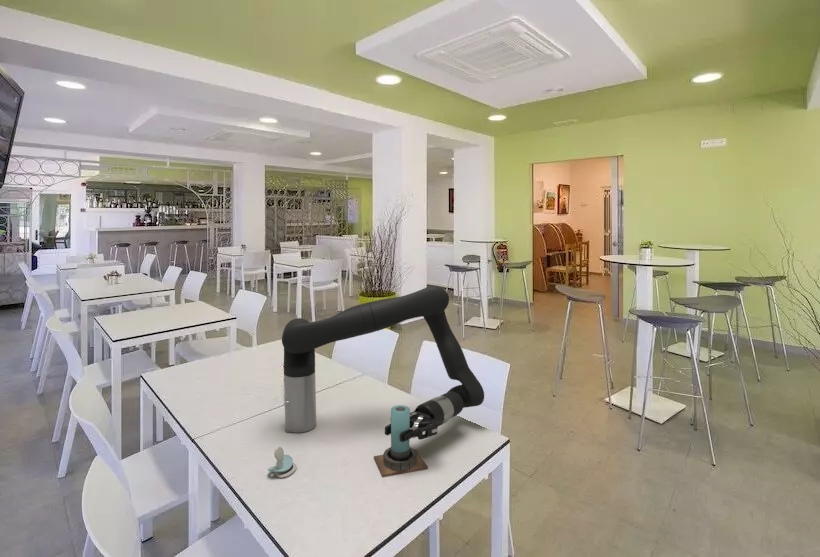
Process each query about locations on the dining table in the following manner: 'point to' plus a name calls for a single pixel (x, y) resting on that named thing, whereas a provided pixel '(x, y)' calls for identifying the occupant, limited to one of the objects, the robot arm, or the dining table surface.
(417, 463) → the socket
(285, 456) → the pacifier
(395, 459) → the teal cylinder
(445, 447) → the dining table surface
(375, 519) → the dining table surface
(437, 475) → the dining table surface
